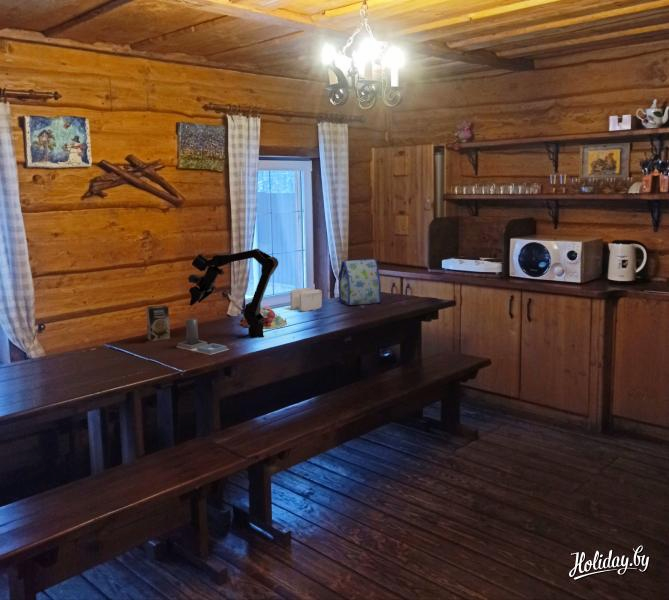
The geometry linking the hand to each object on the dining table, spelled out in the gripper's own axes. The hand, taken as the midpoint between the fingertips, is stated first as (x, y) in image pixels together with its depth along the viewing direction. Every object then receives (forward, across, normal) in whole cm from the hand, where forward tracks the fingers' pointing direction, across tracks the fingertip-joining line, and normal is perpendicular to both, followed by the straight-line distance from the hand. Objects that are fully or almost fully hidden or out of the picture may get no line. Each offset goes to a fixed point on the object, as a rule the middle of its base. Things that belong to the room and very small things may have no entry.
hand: (194, 303), depth 327 cm
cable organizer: (-8, -67, +40) cm, 78 cm away
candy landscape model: (-1, -27, +30) cm, 40 cm away
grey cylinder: (+6, +27, +16) cm, 32 cm away
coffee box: (+19, +16, -1) cm, 25 cm away
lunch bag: (-22, -91, +61) cm, 112 cm away
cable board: (+4, +29, +22) cm, 37 cm away
